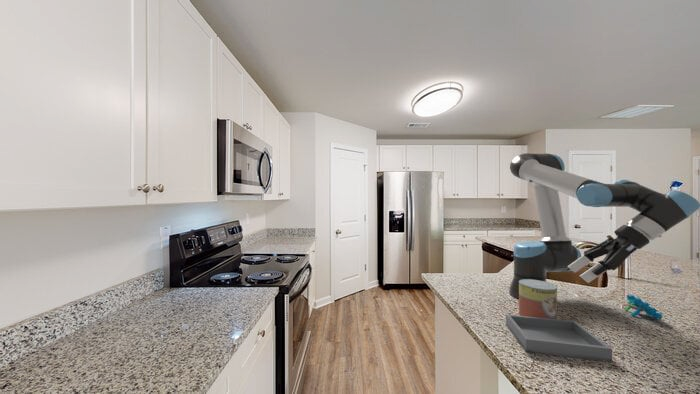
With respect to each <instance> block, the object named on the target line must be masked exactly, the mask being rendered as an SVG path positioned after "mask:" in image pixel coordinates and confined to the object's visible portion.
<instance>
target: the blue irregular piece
mask: <svg viewBox="0 0 700 394" xmlns="http://www.w3.org/2000/svg"><path fill="white" fill-rule="evenodd" d="M626 299H627V300H628V301H627V304H628V305H627V307H626V308H625V309H624V312H626V313H627V312H628V311H629V310H631V309H633V310H635V311H633V312H632V313H631V316H632V317H634V318H635V317H636V316H638V315H639V314H640V313H641V312H642V313H643V312H645V314H646V315H648V316H650V317H653V318H654V319H657V320H662V319H663V314H661V313H660V312H658V310H657V309H656V308H655V307H651V305H650V304H649V303H648V302H646V301H643V300H642V299H641V298H639V297H636V296H634V295H633V294H627V295H626Z"/></svg>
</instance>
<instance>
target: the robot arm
mask: <svg viewBox="0 0 700 394" xmlns="http://www.w3.org/2000/svg"><path fill="white" fill-rule="evenodd" d="M509 169H510V173H511V174H512V175H513V176H514V177H516V178H518V179H521V180H523V181H529V185H530V186H531V187H532V186H533V187H534V188H533V189H534V193H535V201H536V207H537V212H538V219H539V225H540V226H539V227H540V231H541V238H540V239H539V240H538V241H535V240H533V241H521V242H516V244H515V245H514V248H513V278H512V280H511V283H510V285H509V288H508V289H509V290H508V293H509V295H510V296H512V297H514V298H516V299H518V300H519V280H522V279H533V280H540V281H545V282H547V273H555V272H556V273H557V272H561V273H564V272H565V273H566V272H573V273H577V272H579V270H582V269H583V268H584V267H586V266H587V265H589V264H590V263H593V262H594V260H595V259H597V258H600V257H602V256H604V258H603V259H602V260H599V261H597V263H596V264H594V265H593V266H592V267H590V268H588V270H586V271H584V272H583V273H581V274H580V275H579V277H580V278H582V279H583V280H584V281H585V282H586V283H587V284H589V283H591V282H592V281H594V280H595V279H597V278H599V277H600V276H602V274H604V273H606V272H608V271H610V270H612V271H615V270H617V269H618V268H619V267H620V265H622V263H624V262H625V261H626V259H628V258H629V256H631V254H633V253H634V252H636V250H641V249H642V248H644V247H646V246H647V245H648V244H650V241H654V240H655V239H657V238H662V237H663V235H662V234H665V233H666V232H667V231H669V230H670V229H672V228H673V227H675V226H676V225H678V224H680V223H681V222H682V221H684V220H686V219H688V218H690V216H692V215H693V214H694V213H696V212H697V211H698V210H699V209H700V202H699V201H698V200H697V198H695V197H693V196H692V195H690V194H688V193H686V192H684V191H681V190H671V191H669V192H666V193H661V192H659V191H656V190H654V189H652V188H649V187H646V186H645V185H641V184H639V183H638V182H635V181H631V180H628V179H619V180H618V181H615V182H613V183H611V184H610V183H604V182H600V181H597V180H593V179H591V178H588V177H584V176H581V175H577V174H575V173H571V172H568V171H565V163H564V161H563V159H562V158H561V157H560V156H558V155H556V154H551V153H528V152H527V153H521V154H517V155H516V156H515V157H513V159H511V162H510V164H509ZM559 192H560V193H562V194H565V195H568V196H570V197H573V198H575V199H577V200H578V202H579V203H580V204H581V205H583V206H586V207H592V208H601V207H603V208H604V207H605V208H606V207H607V208H608V207H613V208H614V207H616V208H617V207H626V208H627V207H629V208H631V209H632V210H635V211H637V212H639V213H638V214H636V215H635V216H633V217H632V218H631V219H629V220H627V222H625V223H626V224H622V225H621V226H620V227H619V228H617V229H615V230H614V234H615V235H616V236H617V237H615V238H613V237H611V236H610V237H608V238H607V239H605V240H604V241H602V242H600V243H598V244H596V245H593V246H592V247H590V248H589V249H587V250H584V251H583V255H582V253H581V251H580V249H578V248H577V247H576V245H573V242H572V239H570V237H567V235H566V230H565V228H566V227H565V223H564V216H563V210H562V205H561V200H560V194H559Z"/></svg>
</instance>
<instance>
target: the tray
mask: <svg viewBox="0 0 700 394" xmlns="http://www.w3.org/2000/svg"><path fill="white" fill-rule="evenodd" d="M505 325H506V327H507V328H508V330H509V331H510V332H511V334H512V335H513V336H514V338H515V339H516V341H517V342H518V343H519V345H520V346H521V347H522V349H523V350H524V351H525V352H527V353H534V354H543V355H551V356H558V357H566V358H572V359H573V358H575V359H582V360H590V361H591V360H592V361H599V362H604V363H605V362H606V363H613V348H611V347H610V346H609V345H608V344H607V343H605V342H604V341H603V340H601V339H600V338H598V337H597V336H596V335H594V333H592V332H591V331H589V330H587V329H586V328H585V327H584V326H582V325H581V324H579V322H577V321H576V320H568V319H567V320H566V319H558V318H557V319H549V318H538V317H528V316H520V315H519V314H518V315H514V314H507V313H506V314H505Z"/></svg>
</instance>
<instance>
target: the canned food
mask: <svg viewBox="0 0 700 394" xmlns="http://www.w3.org/2000/svg"><path fill="white" fill-rule="evenodd" d="M557 310H558V286H557V285H555V284H554V283H551V282H549V281H546V282H545V281H540V280H533V279H522V280H519V299H518V316H528V317H538V318H549V319H558V313H557Z"/></svg>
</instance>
